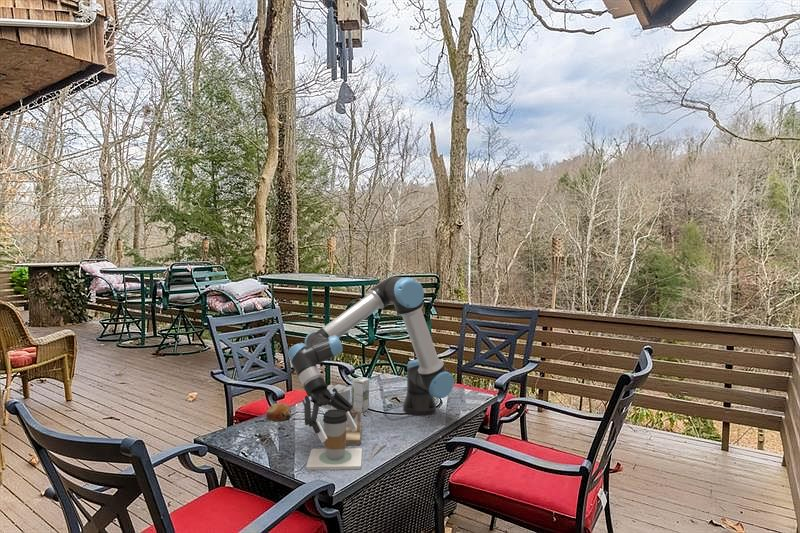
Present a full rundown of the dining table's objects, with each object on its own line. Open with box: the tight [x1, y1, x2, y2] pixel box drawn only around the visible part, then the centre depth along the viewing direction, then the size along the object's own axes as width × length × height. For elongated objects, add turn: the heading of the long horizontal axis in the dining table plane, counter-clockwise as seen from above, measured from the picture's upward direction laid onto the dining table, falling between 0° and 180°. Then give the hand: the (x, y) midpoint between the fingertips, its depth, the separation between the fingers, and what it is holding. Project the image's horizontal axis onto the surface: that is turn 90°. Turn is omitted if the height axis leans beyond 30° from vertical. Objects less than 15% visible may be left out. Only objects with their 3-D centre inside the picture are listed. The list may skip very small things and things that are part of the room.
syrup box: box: [351, 376, 370, 414], centre depth 209 cm, size 6×6×14 cm
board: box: [305, 447, 363, 471], centre depth 159 cm, size 18×14×1 cm
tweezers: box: [368, 442, 387, 461], centre depth 164 cm, size 18×5×2 cm, turn 166°
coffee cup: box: [322, 409, 348, 460], centre depth 159 cm, size 8×8×15 cm
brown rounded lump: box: [266, 402, 292, 422], centre depth 199 cm, size 10×10×8 cm
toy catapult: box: [345, 408, 362, 446], centre depth 180 cm, size 19×8×10 cm, turn 3°
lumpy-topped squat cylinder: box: [322, 384, 351, 410], centre depth 217 cm, size 10×13×9 cm
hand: (340, 435), depth 157 cm, fingers open, 13 cm apart
